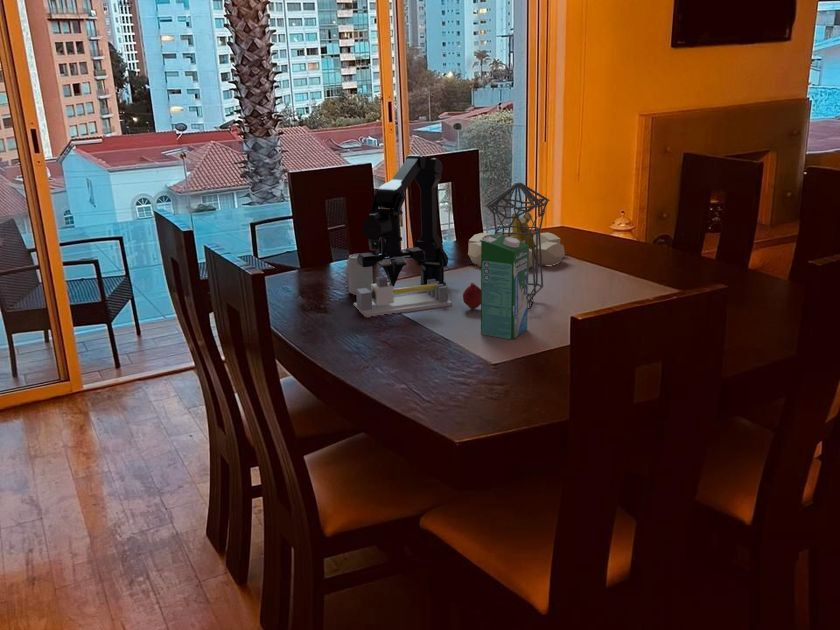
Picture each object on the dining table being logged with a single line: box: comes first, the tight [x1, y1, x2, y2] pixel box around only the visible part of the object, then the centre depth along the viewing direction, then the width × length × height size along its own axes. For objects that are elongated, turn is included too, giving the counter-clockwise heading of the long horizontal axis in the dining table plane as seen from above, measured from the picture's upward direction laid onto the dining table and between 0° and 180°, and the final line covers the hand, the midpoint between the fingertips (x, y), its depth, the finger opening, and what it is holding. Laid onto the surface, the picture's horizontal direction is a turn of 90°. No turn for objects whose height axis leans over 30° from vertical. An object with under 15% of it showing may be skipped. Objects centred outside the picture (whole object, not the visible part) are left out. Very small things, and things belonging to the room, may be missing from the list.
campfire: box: [467, 212, 566, 269], centre depth 270 cm, size 35×34×17 cm
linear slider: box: [353, 279, 453, 318], centre depth 220 cm, size 26×12×6 cm, turn 111°
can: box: [347, 253, 374, 296], centre depth 233 cm, size 8×8×12 cm
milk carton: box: [480, 233, 530, 341], centre depth 193 cm, size 9×9×25 cm
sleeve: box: [371, 276, 395, 305], centre depth 217 cm, size 5×5×7 cm
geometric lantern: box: [485, 182, 551, 307], centre depth 215 cm, size 16×16×35 cm
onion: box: [462, 281, 481, 311], centre depth 215 cm, size 6×6×8 cm
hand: (392, 286), depth 218 cm, fingers closed
